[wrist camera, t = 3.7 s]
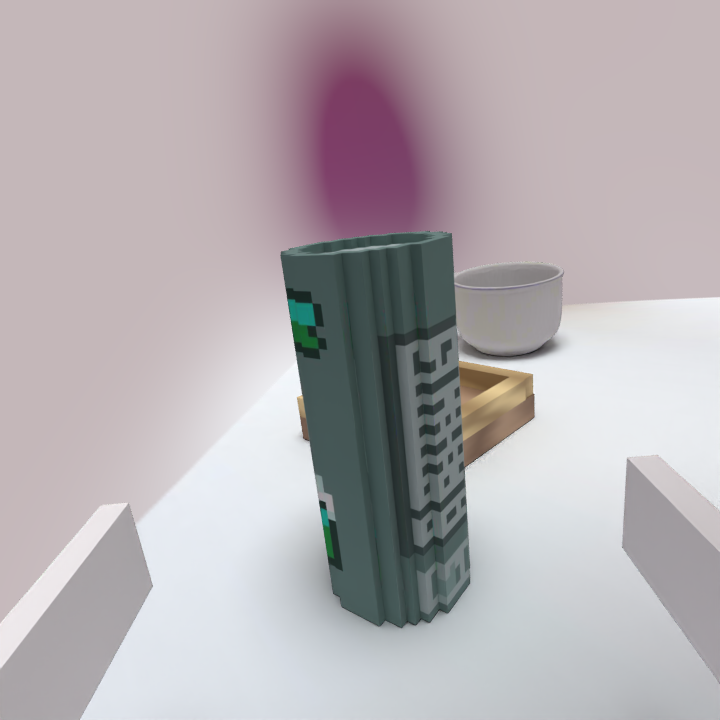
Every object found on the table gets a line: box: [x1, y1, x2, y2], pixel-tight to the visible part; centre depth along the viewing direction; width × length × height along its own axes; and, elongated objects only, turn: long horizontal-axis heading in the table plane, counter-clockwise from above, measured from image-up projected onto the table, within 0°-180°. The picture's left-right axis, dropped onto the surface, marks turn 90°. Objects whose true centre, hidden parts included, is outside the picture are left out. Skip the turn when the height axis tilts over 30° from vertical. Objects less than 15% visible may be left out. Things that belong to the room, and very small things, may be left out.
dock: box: [297, 361, 534, 467], centre depth 37 cm, size 12×12×3 cm
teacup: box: [454, 262, 564, 356], centre depth 54 cm, size 14×11×8 cm
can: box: [281, 231, 470, 628], centre depth 21 cm, size 6×6×15 cm
